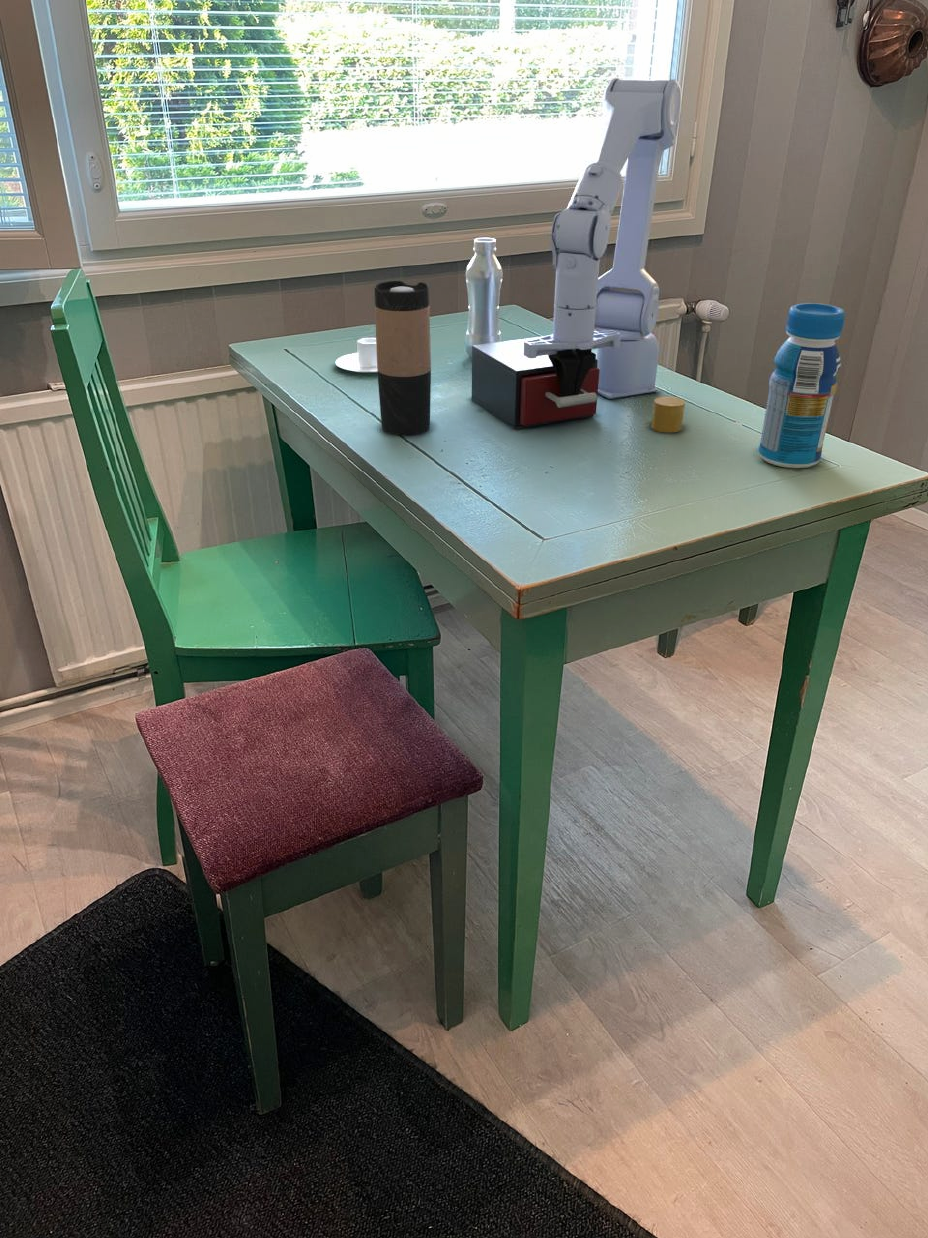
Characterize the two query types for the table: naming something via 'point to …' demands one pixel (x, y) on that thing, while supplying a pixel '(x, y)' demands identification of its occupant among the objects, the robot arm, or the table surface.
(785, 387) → the beverage bottle
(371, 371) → the candle holder
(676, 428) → the yellow cylinder
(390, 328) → the travel mug
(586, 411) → the drawer
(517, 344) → the charcoal grey case
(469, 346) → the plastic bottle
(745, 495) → the table surface
